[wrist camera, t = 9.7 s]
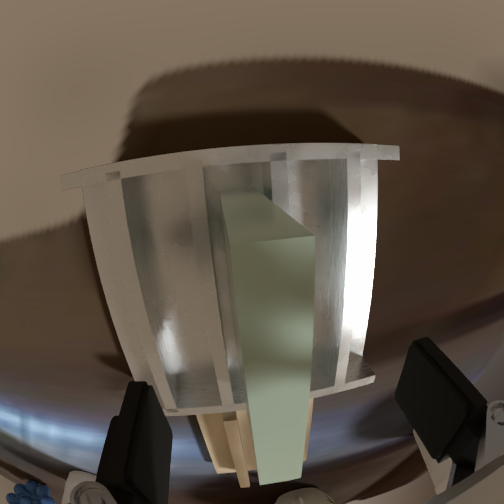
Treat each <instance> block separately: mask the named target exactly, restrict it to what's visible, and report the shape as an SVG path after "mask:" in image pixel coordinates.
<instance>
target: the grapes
mask: <svg viewBox="0 0 504 504" xmlns="http://www.w3.org/2000/svg"><path fill="white" fill-rule="evenodd" d="M14 492H15V493H16V494H17V495H16V494H15V493H9V494H7V496H6V499H7V502H8V503H9V504H55V502H54V499H53V498H52V497H49V495H50V490H49V488H48V487H47V486H45V485H38V483H37V482H35V481H28V482H27V483H26V485H23V484H16V485H15V486H14Z"/></svg>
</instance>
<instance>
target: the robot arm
mask: <svg viewBox="0 0 504 504" xmlns="http://www.w3.org/2000/svg"><path fill="white" fill-rule="evenodd" d="M395 399H396V401H397V403H398V404H399V406H400V408H401V409H402V411H403V412H404V414H405V415H406V417H407V419H408V420H409V422H410V423H411V425H412V427H413V428H414V430H415V432H416V433H417V435H418V436H419V438H420V440H421V441H422V443H423V445H424V446H425V448H426V450H427V451H428V453H429V455H430V456H431V458H433V459H436V461H437V462H438V464H439V463H441V462H443V461H444V460H446V459H448V458H449V457H450V458H451V460H452V466H451V470H450V475H449V479H448V483H447V487H446V490H445V491H443V492H442V493H440V494H438V495H436V496H434V497H432V498H431V499H429V500H427V501H425V502H423V503H421V504H504V401H503V400H497V401H494V402H492V403H491V404H490V405H489V406H488V407H487V405H486V404H487V401H486V399H485V398H484V397H483V396H482V395H481V394H480V393H479V391H478V390H477V389H476V388H475V387H474V386H473V384H472V383H471V382H470V381H469V380H468V379H467V378H466V377H465V376H464V374H463V373H462V372H461V371H460V370H459V369H458V368H457V367H456V366H455V365H454V364H453V363H452V361H451V360H450V359H449V358H448V357H447V356H446V355H445V354H444V353H443V352H442V351H441V350H440V349H439V348H438V347H437V346H436V345H435V344H434V342H433V341H432V340H431V339H430V338H428V337H424V338H421V339H418V340H415V341H413V342H412V345H411V346H410V347H409V350H408V353H407V357H406V360H405V363H404V367H403V370H402V373H401V376H400V379H399V382H398V385H397V388H396V391H395ZM172 438H173V436H172V430H171V428H170V426H169V423H168V421H167V419H166V417H165V414H164V412H163V410H162V407H161V405H160V403H159V400H158V398H157V395H156V393H155V390H154V388H153V386H152V385H148V383H147V382H146V381H130V382H129V384H128V386H127V390H126V393H125V397H124V400H123V403H122V407H121V410H120V414H119V416H114V417H113V418H112V420H111V422H110V426H109V429H108V433H107V437H106V440H105V444H104V448H103V452H102V455H101V459H100V463H99V467H98V472H97V476H96V480H95V482H94V481H85V482H81V483H79V484H78V485H76V486H75V487H74V488H73V490H72V491H71V494H70V503H68V504H168V493H169V477H170V463H171V450H172Z"/></svg>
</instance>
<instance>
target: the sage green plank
mask: <svg viewBox="0 0 504 504" xmlns="http://www.w3.org/2000/svg"><path fill="white" fill-rule="evenodd" d="M219 195H220V206H221V216H222V226H223V236H224V245H225V254H226V264H227V273H228V281H229V290H230V298H231V307H232V315H233V323H234V331H235V339H236V347H237V354H238V362H239V368H240V375H241V381H242V387H243V393H244V399H245V405H246V411H247V417H248V423H249V429H250V435H251V440H252V446H253V451H254V457H255V462H256V467H257V473H258V478H259V483H260V485H264V484H271V483H277V482H282V481H287V480H293V479H297V478H301V472H302V464H303V456H304V447H305V438H306V429H307V418H308V407H309V395H310V382H311V367H312V349H313V327H314V294H315V235H313V234H312V233H311V232H310V231H308V230H307V229H306V228H305V227H303V226H302V225H301V224H300V223H298V222H297V221H296V220H295V219H293V218H292V217H291V216H290V215H288V214H287V213H286V212H285V211H283V210H282V209H281V208H280V207H278V206H277V205H276V204H274V203H273V202H272V201H271V200H269V199H268V198H267V197H265V196H264V195H263V194H262V193H260V192H259V191H258V190H256V189H255V188H253V189H242V190H232V191H222V192H219Z"/></svg>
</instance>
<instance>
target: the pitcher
mask: <svg viewBox="0 0 504 504" xmlns="http://www.w3.org/2000/svg"><path fill="white" fill-rule="evenodd" d="M275 504H336V503H335V502H334V501H333V500H332V499H331V498H330V497H329V496H328V495H327V494H325V493H324V492H322V491H320V490H318V489H317V488H301V489H297V490H293V491H290V492H287V493H285V494H283V495H281V496H280V497H278V499H277V501H276V502H275Z"/></svg>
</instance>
